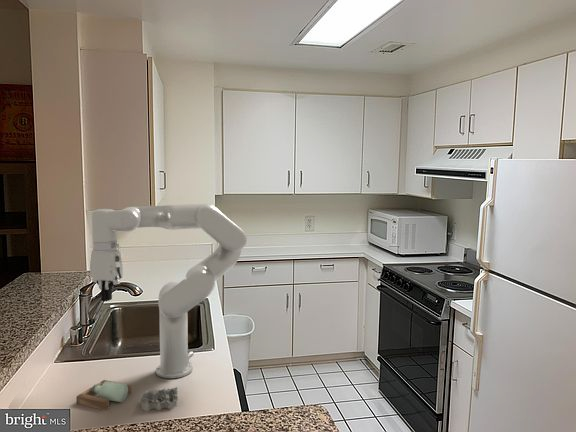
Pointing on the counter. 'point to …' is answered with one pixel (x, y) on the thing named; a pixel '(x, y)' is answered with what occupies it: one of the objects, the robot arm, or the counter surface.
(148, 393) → the egg carton
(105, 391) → the bottle
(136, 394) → the counter surface
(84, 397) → the rest
